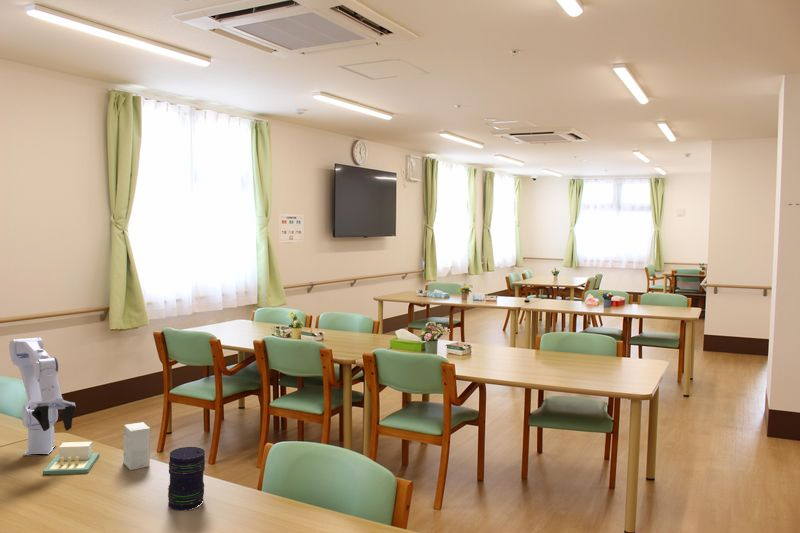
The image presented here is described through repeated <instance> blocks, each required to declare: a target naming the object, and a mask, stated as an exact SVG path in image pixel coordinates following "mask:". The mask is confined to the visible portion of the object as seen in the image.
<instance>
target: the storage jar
mask: <svg viewBox="0 0 800 533" xmlns="http://www.w3.org/2000/svg"><path fill="white" fill-rule="evenodd" d="M205 454H206V450H205V449H204V448H201V447H198V446H185V447H178V448H176V449H173V450H172V451H170V452H169V459H168V460H169V462H168V468H169V469H168V473H169V484H168V487H167V497H168V500H167V501H168V504H167V505H168V508H170V510H173V511H179V512H182V511H183V512H184V511H185V510H186V511H190V510H189V509H192V508H195V507H197V506H198V505H200V504H201V503H202V501H203V502H204V494H205V483H204V472H205V468H206V467H205V465H206V459H205V456H206V455H205ZM195 509H196V508H195ZM192 510H193V509H192ZM186 511H185V512H186Z"/></svg>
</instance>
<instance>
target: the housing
mask: <svg viewBox="0 0 800 533" xmlns="http://www.w3.org/2000/svg"><path fill="white" fill-rule="evenodd" d="M92 453H93V441H72V442H71V441H69V442H68V441H65V442H64V441H63V442H62V443H61V444H60V445H59V446H58V454H59V460H58V461H60V458H61V457H64V460H68V457H71V460H75V457H79V460H88V459H89V458H90V456H91V455H92Z"/></svg>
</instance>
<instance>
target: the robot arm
mask: <svg viewBox="0 0 800 533" xmlns="http://www.w3.org/2000/svg"><path fill="white" fill-rule="evenodd" d="M8 345H9V357H10V359H11V360H10V361H11V362H12V365H14V366H17V367H18V368H19V372H20V375H21V378H22V382H23V385H24V389H25V393H26V397H27V402H26V403H24V404H23V406H22V409H21V419H22V420H21V421H22V425H23V426H24V427H25V428H27V449H26V451H25V452H23V454H22V456H30V455H29V454H48V455H49V453H50V452H51V453H52V452H53V450H54V449H55V448H54V447H52V446H53V445H54V444H55V427H54V425H55V424H56V422H57V421H58V418H59V416H60V418H61V420H62V422H63V428H64V430H65V431H67V432H68V431H69V430H71V429H72V427H73V426H72V425H73V417H74V414H75V412H76V408H77V407H76V402H73V401H68V400H64V397H63V396H62V391H61V386H60V381H59V375H58V373H59V361H58V359H57V357H56V356H54V357H53V356H50V355H49V353H48V352H47V351H46V350H44V341H43V339H42V337H40V336H38V337H28V338H12V339H11V340H10V341H9V344H8ZM58 410H62V412H61V413H59V412H58ZM53 448H54V449H53ZM25 453H26V454H25Z"/></svg>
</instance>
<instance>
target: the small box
mask: <svg viewBox="0 0 800 533" xmlns="http://www.w3.org/2000/svg"><path fill="white" fill-rule="evenodd" d="M123 426H124V428H123V429H124V430H123V455H122V456H123V458H122V462H123V464H124V465H125V466H126V467H127V469H129V470H130V471H132V470H138V469H143V468H147V467H150V463H151V462H150V460H151V459H150V458H151V456H150V455H151V454H150V453H151V427H150V426H148V425H147V423H145V422H143V421H141V422H134V423H127V424H124V425H123Z"/></svg>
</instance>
